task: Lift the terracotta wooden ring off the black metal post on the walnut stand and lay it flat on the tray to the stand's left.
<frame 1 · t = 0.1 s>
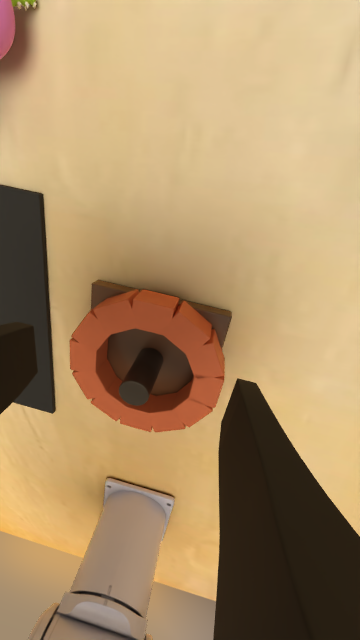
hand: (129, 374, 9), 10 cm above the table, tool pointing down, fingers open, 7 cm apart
stand: (154, 351, 20), on the table
game card: (0, 20, 13), on the table
ring: (150, 358, 20), point 1 cm above the table, touching stand
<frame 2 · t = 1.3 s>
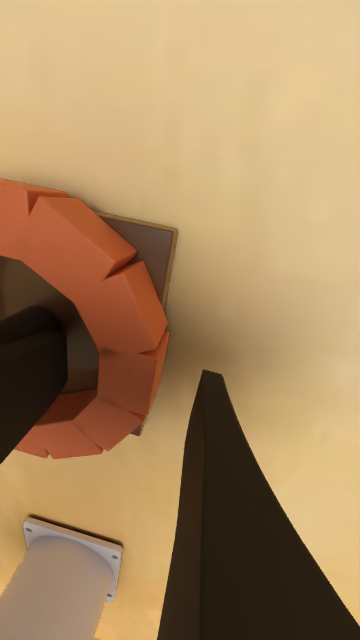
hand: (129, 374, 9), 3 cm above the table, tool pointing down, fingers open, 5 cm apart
stand: (55, 317, 12), on the table
ring: (41, 327, 11), point 1 cm above the table, touching stand
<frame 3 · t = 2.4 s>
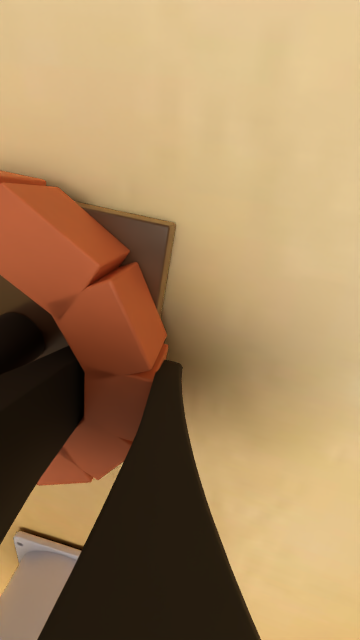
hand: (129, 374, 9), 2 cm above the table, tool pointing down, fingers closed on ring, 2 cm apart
stand: (38, 324, 10), on the table
ring: (22, 337, 10), point 1 cm above the table, touching gripper
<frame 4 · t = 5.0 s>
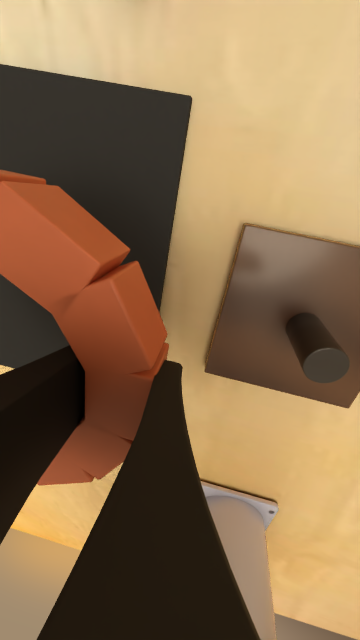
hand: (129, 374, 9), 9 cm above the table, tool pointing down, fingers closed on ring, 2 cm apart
stand: (299, 320, 16), on the table
tray: (51, 263, 17), on the table
ring: (22, 336, 10), point 8 cm above the table, touching gripper
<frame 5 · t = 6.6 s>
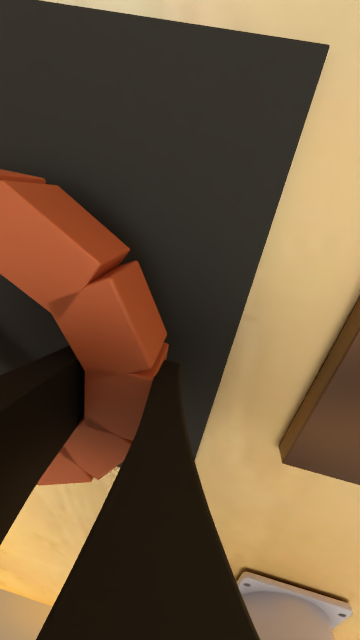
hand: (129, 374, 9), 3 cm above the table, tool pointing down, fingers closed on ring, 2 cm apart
tray: (64, 308, 12), on the table
ring: (22, 336, 10), point 3 cm above the table, touching gripper
when the fingers open (1 cm above the table, at t = 7.6 s): ring stays where it is, resting on tray.
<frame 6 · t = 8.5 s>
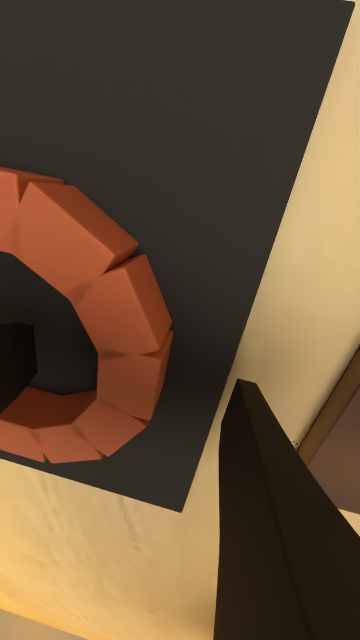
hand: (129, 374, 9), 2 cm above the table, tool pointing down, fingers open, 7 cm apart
tray: (42, 321, 11), on the table
ring: (38, 325, 10), resting on tray
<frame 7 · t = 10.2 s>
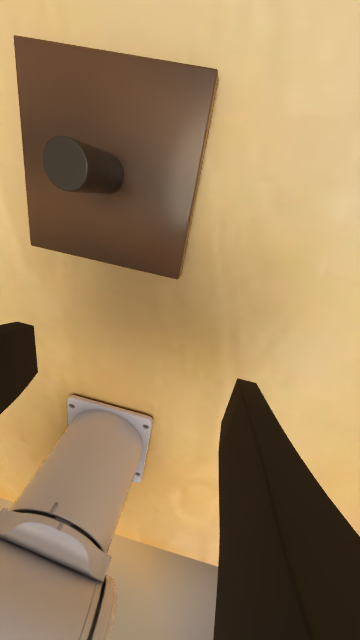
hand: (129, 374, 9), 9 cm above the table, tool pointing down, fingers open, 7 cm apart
stand: (114, 175, 15), on the table
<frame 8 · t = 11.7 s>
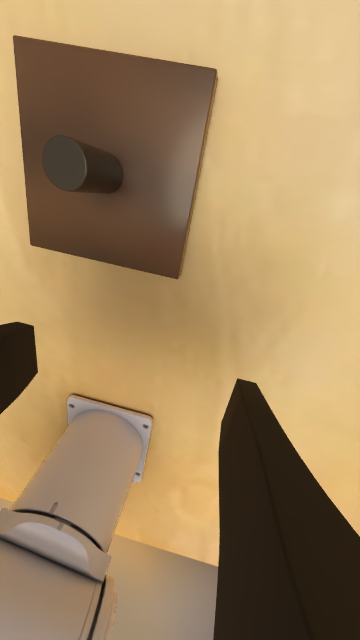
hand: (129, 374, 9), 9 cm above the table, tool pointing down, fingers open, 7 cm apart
stand: (113, 175, 15), on the table
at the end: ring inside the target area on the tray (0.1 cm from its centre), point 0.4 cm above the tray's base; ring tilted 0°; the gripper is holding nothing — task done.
